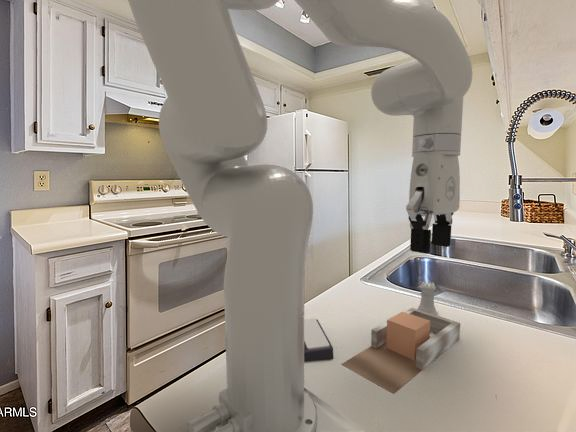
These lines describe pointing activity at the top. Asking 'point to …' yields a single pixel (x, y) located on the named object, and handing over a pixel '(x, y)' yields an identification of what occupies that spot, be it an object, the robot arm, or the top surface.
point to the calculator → (316, 342)
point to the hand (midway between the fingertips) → (430, 248)
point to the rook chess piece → (427, 298)
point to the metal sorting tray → (395, 367)
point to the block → (407, 334)
